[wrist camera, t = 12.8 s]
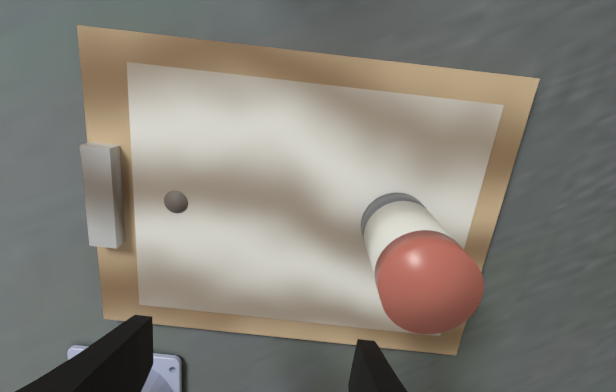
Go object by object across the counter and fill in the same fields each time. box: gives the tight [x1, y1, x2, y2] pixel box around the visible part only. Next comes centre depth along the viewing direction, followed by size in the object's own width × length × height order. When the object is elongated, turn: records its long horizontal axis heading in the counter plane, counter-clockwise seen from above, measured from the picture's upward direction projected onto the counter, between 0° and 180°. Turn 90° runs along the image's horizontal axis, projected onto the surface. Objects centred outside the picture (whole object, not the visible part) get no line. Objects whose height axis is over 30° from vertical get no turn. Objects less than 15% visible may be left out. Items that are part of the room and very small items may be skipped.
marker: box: [361, 192, 484, 334], centre depth 17 cm, size 4×4×7 cm
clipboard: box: [77, 25, 539, 355], centre depth 21 cm, size 18×24×2 cm
